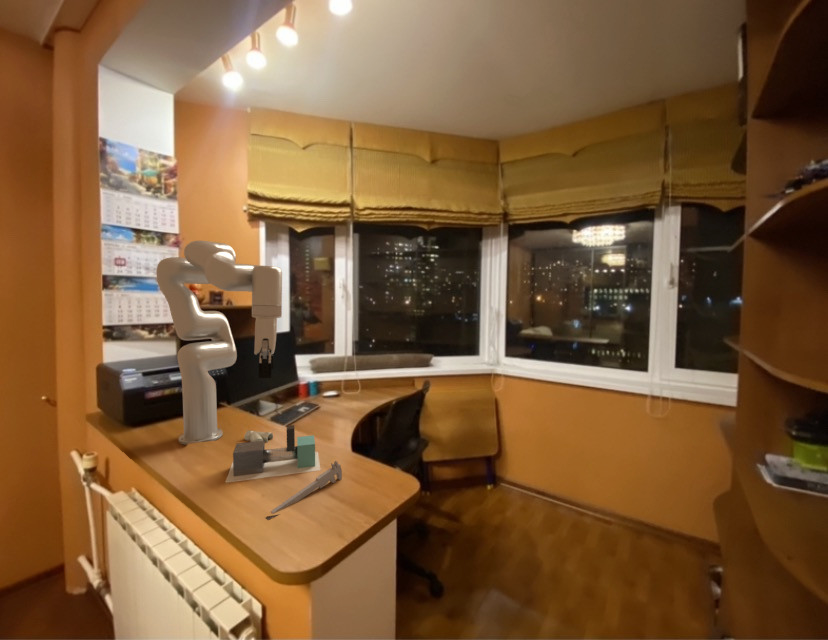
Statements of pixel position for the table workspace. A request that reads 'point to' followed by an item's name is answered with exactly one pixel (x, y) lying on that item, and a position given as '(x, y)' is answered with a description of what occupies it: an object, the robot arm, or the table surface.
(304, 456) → the socket block
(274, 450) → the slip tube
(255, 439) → the pipe fitting
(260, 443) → the dark grey block
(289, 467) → the base board
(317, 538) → the table surface
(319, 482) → the caliper
